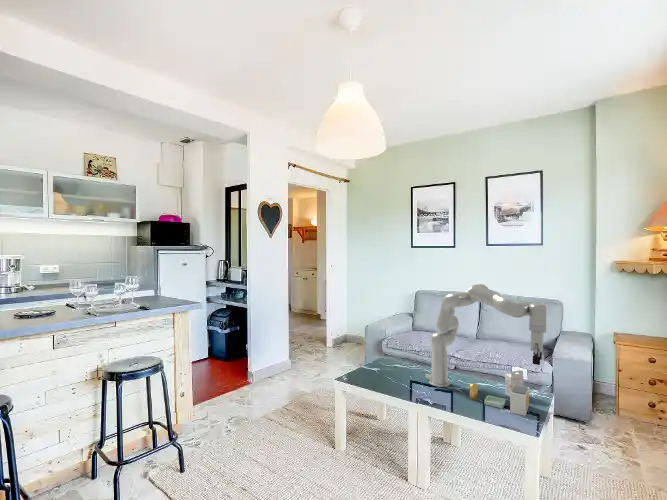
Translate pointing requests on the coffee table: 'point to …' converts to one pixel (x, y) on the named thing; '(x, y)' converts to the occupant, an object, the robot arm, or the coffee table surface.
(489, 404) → the tray
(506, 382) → the ink cartridge box
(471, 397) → the roller
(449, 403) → the coffee table surface
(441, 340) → the robot arm
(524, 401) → the white box grey panel
